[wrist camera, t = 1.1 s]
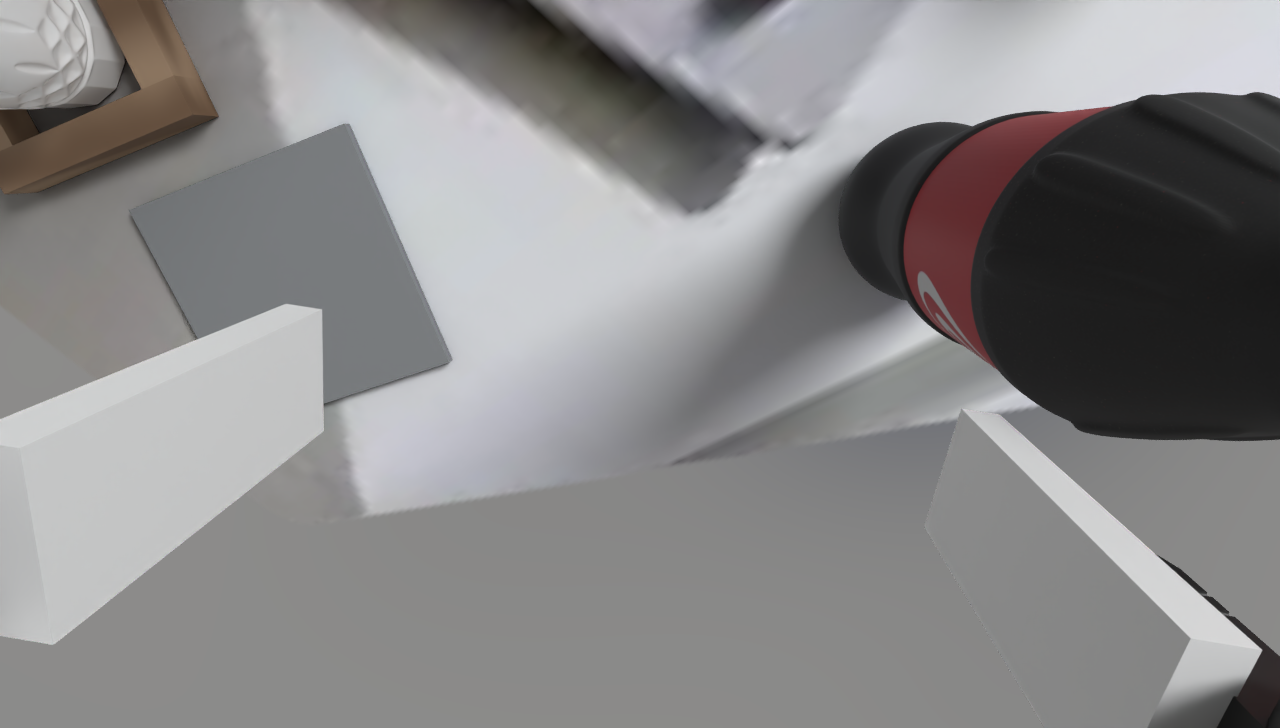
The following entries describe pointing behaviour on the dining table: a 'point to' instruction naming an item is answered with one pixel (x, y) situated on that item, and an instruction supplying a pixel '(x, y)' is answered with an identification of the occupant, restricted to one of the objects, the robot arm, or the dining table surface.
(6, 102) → the white cup
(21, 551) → the robot arm
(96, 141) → the walnut collar
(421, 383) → the dining table surface
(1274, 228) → the cola bottle
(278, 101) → the dining table surface
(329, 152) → the grey mat
